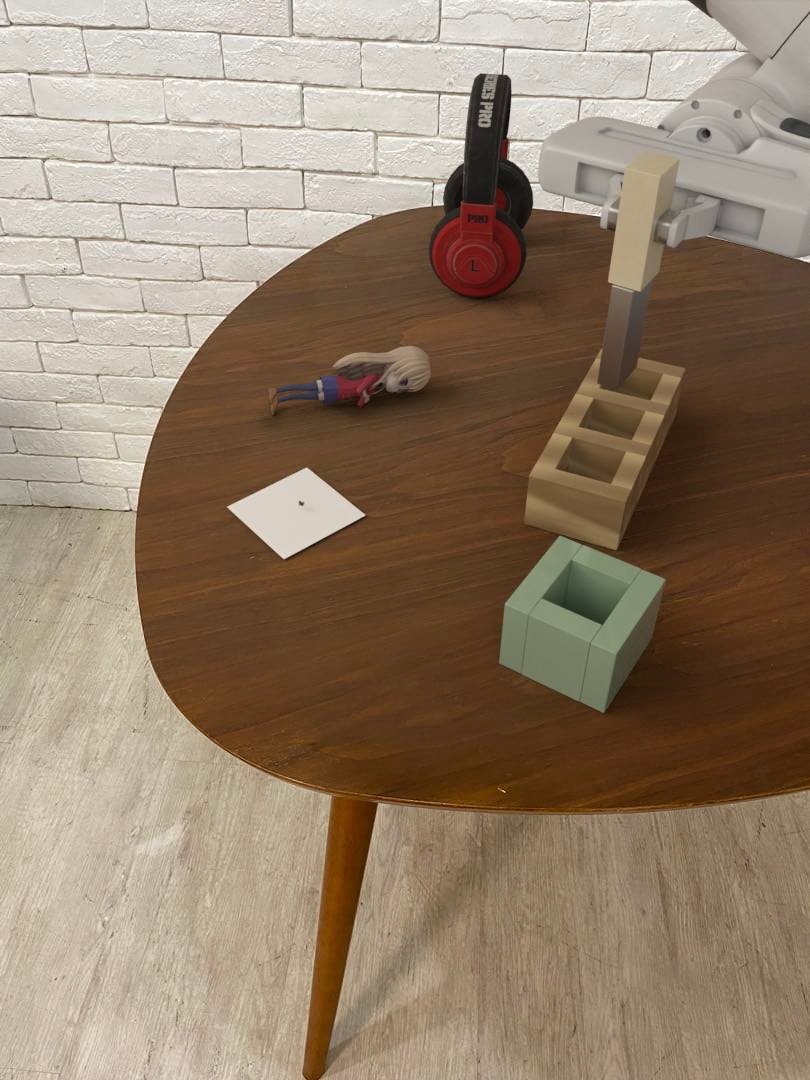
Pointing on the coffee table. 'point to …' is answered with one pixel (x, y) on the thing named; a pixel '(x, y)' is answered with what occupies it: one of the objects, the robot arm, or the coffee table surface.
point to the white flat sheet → (295, 512)
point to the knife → (634, 261)
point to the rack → (603, 454)
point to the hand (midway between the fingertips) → (637, 227)
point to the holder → (580, 622)
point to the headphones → (483, 202)
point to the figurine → (364, 377)
